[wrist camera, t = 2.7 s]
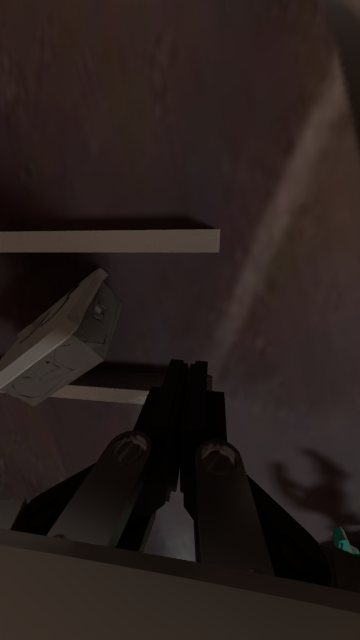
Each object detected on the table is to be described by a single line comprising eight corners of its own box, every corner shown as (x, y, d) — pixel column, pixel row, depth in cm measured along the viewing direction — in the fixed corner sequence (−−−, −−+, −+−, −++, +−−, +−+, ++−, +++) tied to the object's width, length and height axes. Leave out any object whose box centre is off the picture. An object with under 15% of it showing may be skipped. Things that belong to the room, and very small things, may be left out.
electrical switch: (104, 263, 21) (39, 298, 12) (141, 308, 22) (106, 366, 14) (38, 318, 24) (-51, 376, 15) (75, 354, 25) (12, 426, 17)
